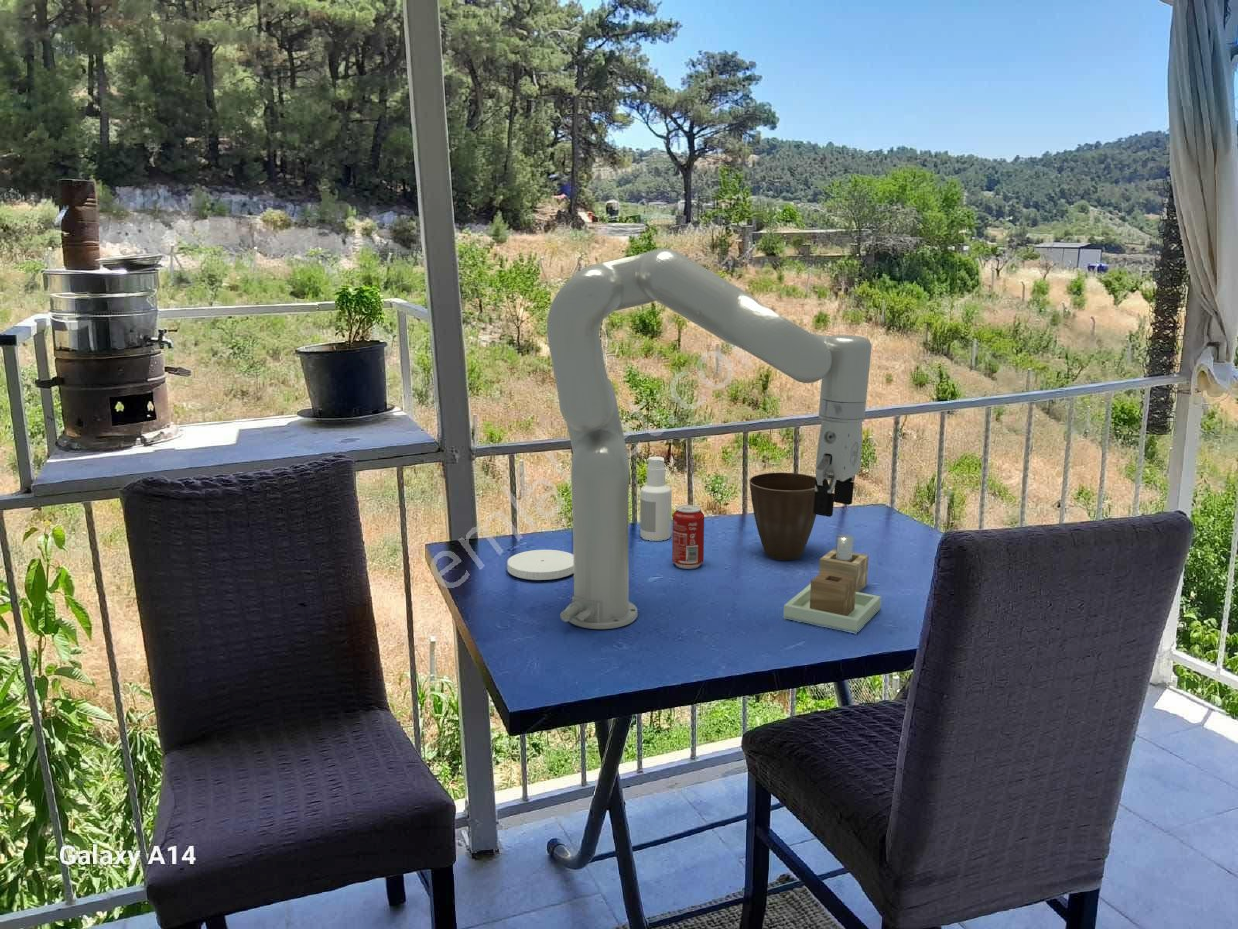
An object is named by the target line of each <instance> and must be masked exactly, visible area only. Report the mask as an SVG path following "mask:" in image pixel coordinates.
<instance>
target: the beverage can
mask: <svg viewBox="0 0 1238 929" xmlns="http://www.w3.org/2000/svg"><path fill="white" fill-rule="evenodd" d="M704 544H705V513H703V511H702V508H701V506H699V505H696V504H695V505H694V504H682V505H678V506H676V508H675V511H674V513H673V514H672V544H671V545H672V547H671V548H672V553H671V556H672V557H671V558H672V559H671V561H672V562H673V563H674V564H675V566H676V567H677V568H680V569H685V570H693V569H697V568H699V567H700V565H702V564H703V563H704V553H705V552H704V550H705V548H704V547H705V545H704Z"/></svg>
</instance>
